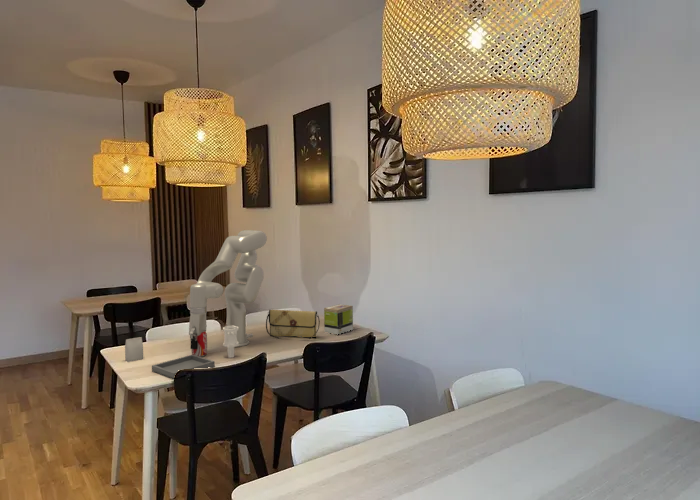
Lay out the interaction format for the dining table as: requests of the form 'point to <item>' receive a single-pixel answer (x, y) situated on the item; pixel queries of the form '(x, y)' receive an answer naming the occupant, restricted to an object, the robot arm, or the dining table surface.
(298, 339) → the dining table surface
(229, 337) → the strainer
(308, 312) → the clutch purse
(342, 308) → the tea box
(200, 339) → the soda can
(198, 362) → the tray
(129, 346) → the grey carton
